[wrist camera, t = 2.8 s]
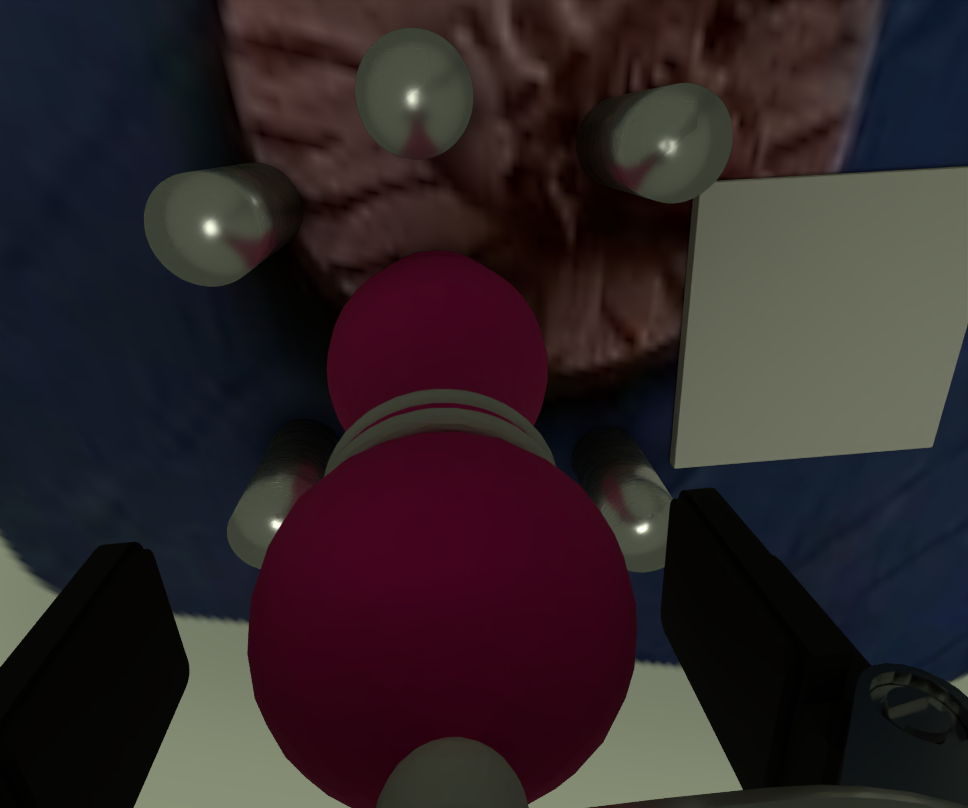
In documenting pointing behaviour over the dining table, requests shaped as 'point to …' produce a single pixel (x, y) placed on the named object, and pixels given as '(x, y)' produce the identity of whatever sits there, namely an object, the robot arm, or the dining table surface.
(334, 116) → the dining table surface
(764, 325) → the mat
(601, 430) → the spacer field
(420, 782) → the pepper mill
